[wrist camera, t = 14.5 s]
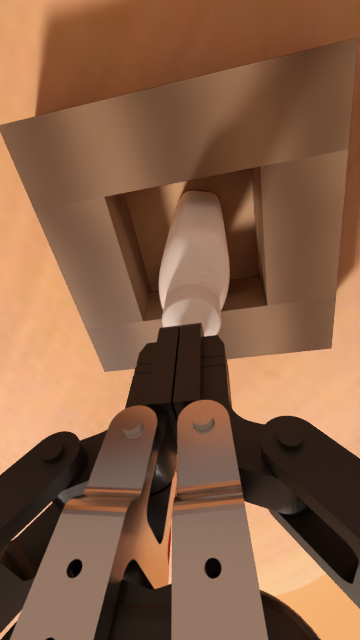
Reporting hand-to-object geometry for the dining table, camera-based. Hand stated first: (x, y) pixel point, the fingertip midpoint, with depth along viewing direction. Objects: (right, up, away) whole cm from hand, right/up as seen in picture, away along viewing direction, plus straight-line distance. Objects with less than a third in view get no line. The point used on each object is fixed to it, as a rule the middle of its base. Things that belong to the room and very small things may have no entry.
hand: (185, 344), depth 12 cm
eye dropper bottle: (+1, +7, +10) cm, 12 cm away
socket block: (+1, +7, +10) cm, 12 cm away
